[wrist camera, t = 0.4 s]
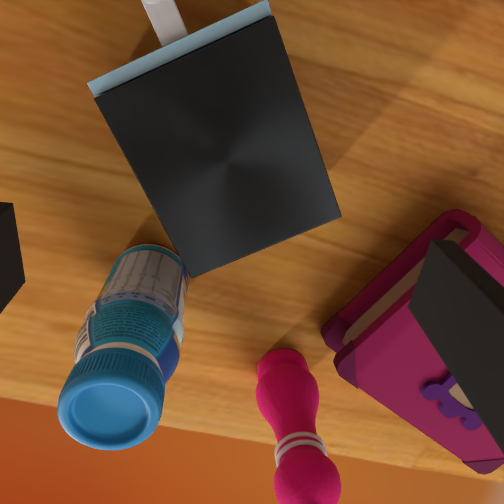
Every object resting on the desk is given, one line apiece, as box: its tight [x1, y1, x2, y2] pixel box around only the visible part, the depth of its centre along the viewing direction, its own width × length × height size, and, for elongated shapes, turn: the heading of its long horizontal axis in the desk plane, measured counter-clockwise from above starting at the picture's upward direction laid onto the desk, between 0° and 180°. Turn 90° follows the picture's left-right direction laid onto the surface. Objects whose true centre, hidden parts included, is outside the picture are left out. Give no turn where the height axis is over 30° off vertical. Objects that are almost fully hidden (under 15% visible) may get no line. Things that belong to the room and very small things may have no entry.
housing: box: [94, 16, 342, 278], centre depth 36 cm, size 16×14×10 cm
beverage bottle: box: [57, 244, 188, 450], centre depth 36 cm, size 8×8×20 cm
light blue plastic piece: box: [87, 0, 272, 96], centre depth 29 cm, size 20×14×22 cm
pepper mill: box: [256, 349, 341, 504], centre depth 43 cm, size 7×7×20 cm
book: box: [321, 209, 504, 474], centre depth 49 cm, size 21×28×8 cm
